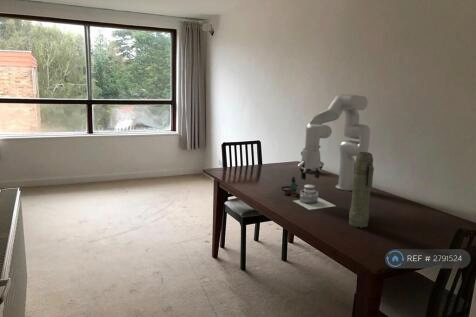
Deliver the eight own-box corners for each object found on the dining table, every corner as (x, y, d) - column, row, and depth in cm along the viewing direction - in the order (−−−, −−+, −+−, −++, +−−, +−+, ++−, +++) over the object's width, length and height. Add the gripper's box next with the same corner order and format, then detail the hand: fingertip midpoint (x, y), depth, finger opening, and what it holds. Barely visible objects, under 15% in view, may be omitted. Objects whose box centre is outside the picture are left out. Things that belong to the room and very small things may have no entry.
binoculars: (281, 176, 220) (297, 176, 218) (282, 193, 222) (298, 193, 220) (280, 180, 211) (297, 179, 209) (281, 197, 213) (297, 197, 211)
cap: (310, 192, 206) (311, 184, 205) (316, 195, 201) (317, 187, 200) (301, 193, 204) (302, 185, 203) (307, 196, 199) (308, 188, 198)
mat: (318, 198, 211) (318, 197, 211) (336, 206, 197) (336, 205, 197) (292, 201, 204) (292, 200, 204) (308, 210, 189) (309, 209, 189)
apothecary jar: (316, 173, 272) (318, 150, 268) (300, 173, 272) (302, 149, 268) (313, 169, 284) (314, 147, 280) (298, 169, 284) (299, 147, 280)
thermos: (360, 230, 164) (367, 155, 157) (342, 221, 175) (348, 151, 168) (374, 227, 168) (382, 154, 161) (356, 219, 179) (362, 150, 172)
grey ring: (310, 197, 210) (311, 188, 209) (321, 203, 201) (321, 193, 200) (296, 199, 206) (296, 190, 205) (306, 205, 197) (306, 195, 196)
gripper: (320, 146, 204) (318, 175, 207) (295, 147, 197) (293, 178, 201) (329, 148, 197) (326, 178, 201) (302, 150, 190) (300, 181, 194)
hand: (310, 178), depth 201 cm, fingers open, 8 cm apart
